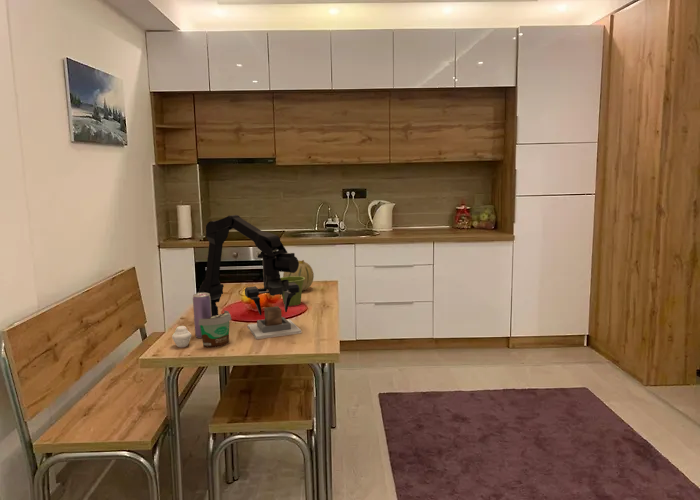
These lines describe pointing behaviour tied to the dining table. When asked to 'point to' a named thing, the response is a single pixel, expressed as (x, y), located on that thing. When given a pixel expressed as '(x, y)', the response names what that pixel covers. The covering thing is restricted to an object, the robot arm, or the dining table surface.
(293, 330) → the socket base
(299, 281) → the plant pot
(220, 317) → the food container
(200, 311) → the beverage can
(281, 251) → the robot arm
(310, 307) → the dining table surface
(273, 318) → the walnut peg
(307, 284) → the cantaloupe
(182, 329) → the white lidded jar
